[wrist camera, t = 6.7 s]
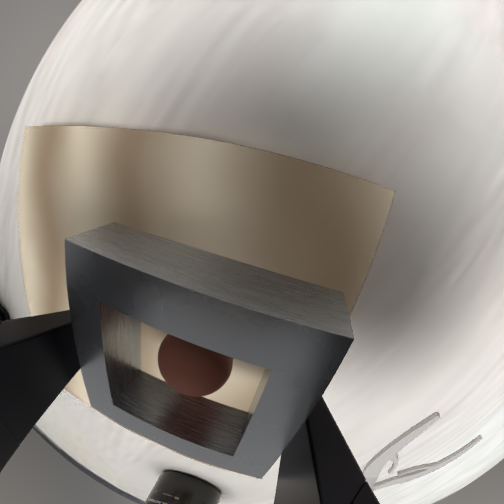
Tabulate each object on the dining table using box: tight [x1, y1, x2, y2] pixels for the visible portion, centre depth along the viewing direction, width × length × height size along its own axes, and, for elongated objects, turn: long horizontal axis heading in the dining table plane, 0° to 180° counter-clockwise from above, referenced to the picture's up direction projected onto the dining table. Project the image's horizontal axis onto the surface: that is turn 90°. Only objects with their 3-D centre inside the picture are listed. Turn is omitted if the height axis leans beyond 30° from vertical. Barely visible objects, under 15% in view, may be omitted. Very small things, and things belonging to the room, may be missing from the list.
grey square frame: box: [65, 222, 354, 479], centre depth 7 cm, size 6×6×2 cm
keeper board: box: [18, 126, 395, 478], centre depth 11 cm, size 19×20×6 cm
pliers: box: [363, 412, 482, 491], centre depth 14 cm, size 10×2×15 cm
